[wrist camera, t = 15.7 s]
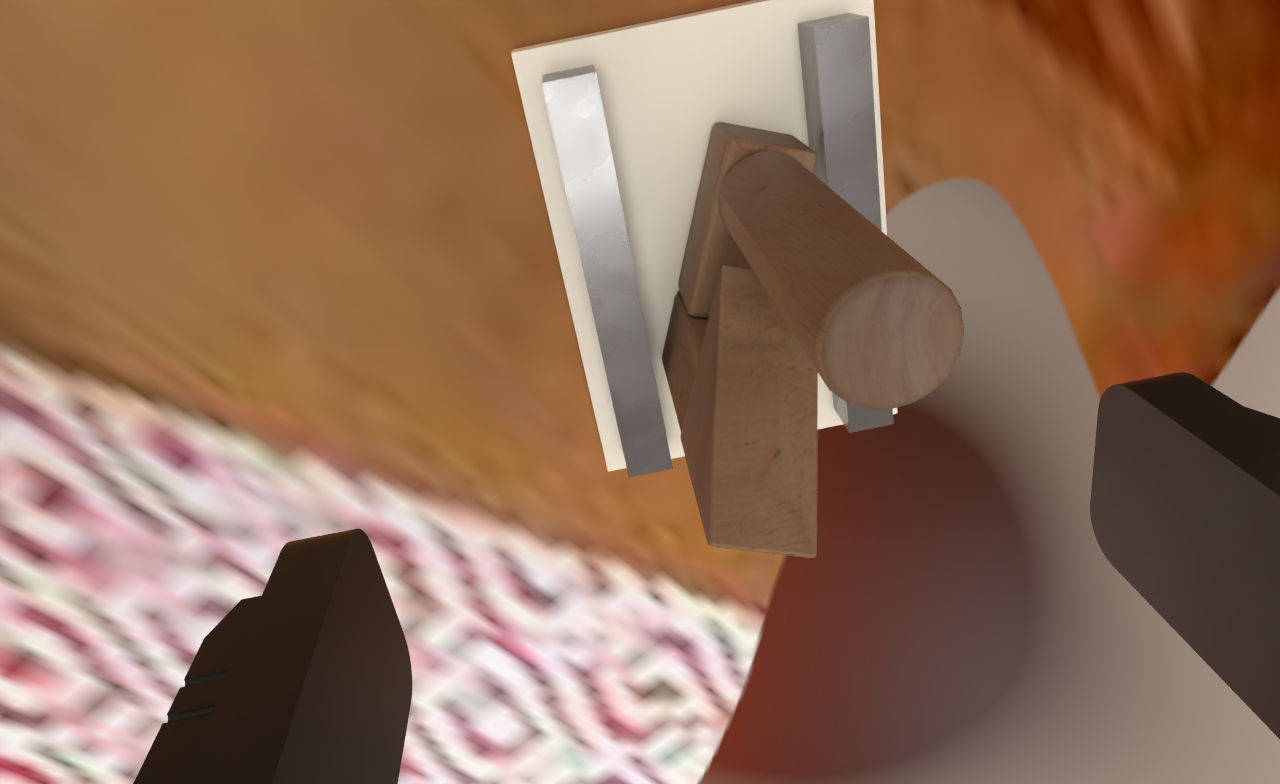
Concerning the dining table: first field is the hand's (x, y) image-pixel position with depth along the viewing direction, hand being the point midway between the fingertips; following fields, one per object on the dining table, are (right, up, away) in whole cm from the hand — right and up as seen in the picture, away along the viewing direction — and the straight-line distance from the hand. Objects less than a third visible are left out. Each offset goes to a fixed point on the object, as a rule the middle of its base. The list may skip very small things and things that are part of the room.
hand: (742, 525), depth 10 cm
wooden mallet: (+3, +7, +28) cm, 30 cm away
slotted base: (+2, +8, +30) cm, 31 cm away
